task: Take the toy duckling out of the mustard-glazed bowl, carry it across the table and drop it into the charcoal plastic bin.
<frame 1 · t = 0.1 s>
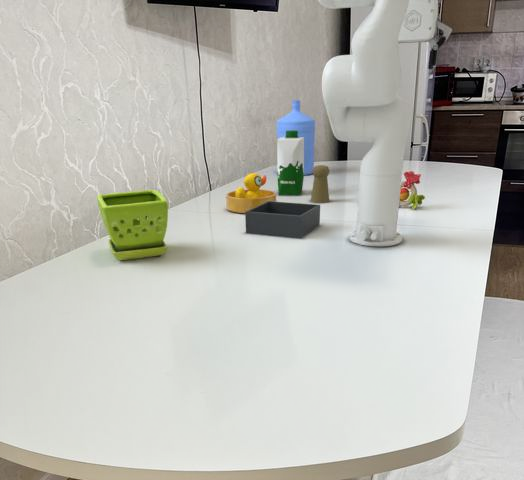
hand: (410, 69, 130), 37 cm above the table, tool pointing down, fingers open, 9 cm apart
bowl: (251, 208, 162), on the table
flower pot: (138, 253, 121), on the table
duckling: (251, 208, 161), resting on bowl
milk carton: (290, 194, 183), on the table
cork: (320, 201, 170), on the table
bin: (283, 229, 138), on the table
bird rattle: (406, 208, 159), on the table
water jug: (295, 173, 223), on the table
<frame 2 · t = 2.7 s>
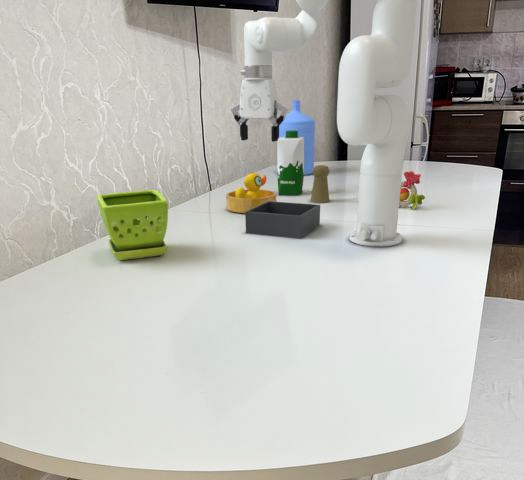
hand: (259, 140, 152), 20 cm above the table, tool pointing down, fingers open, 9 cm apart
nothing on the table moved.
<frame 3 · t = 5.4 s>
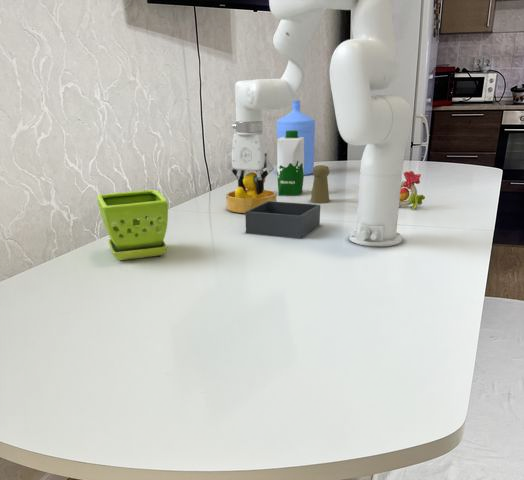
hand: (251, 192, 159), 5 cm above the table, tool pointing down, fingers closed on duckling, 5 cm apart
duckling: (251, 207, 161), resting on bowl, touching gripper
everything else where it was.
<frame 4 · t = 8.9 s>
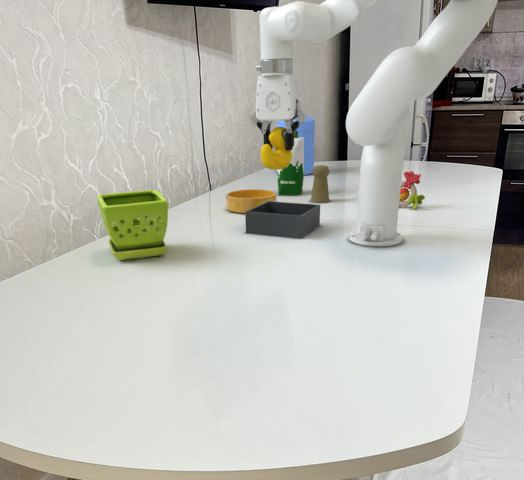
hand: (278, 149, 133), 19 cm above the table, tool pointing down, fingers closed on duckling, 5 cm apart
duckling: (279, 170, 135), point 14 cm above the table, touching gripper
everything else where it was.
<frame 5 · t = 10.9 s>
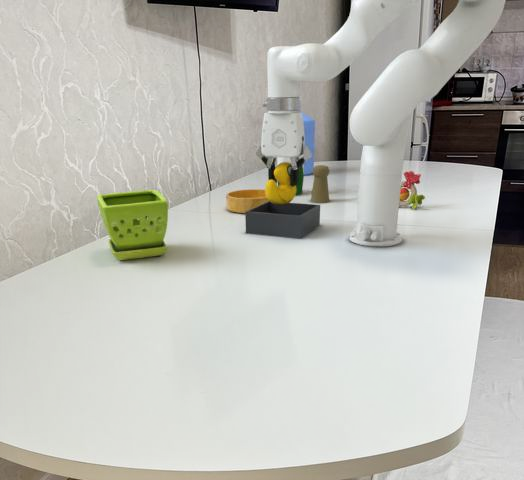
hand: (283, 184, 133), 12 cm above the table, tool pointing down, fingers closed on duckling, 5 cm apart
duckling: (283, 204, 135), point 6 cm above the table, touching gripper
everything else where it was.
when the fingers open (8 cm above the table, at t = 12.4 s): duckling drops 3 cm, resting on bin.
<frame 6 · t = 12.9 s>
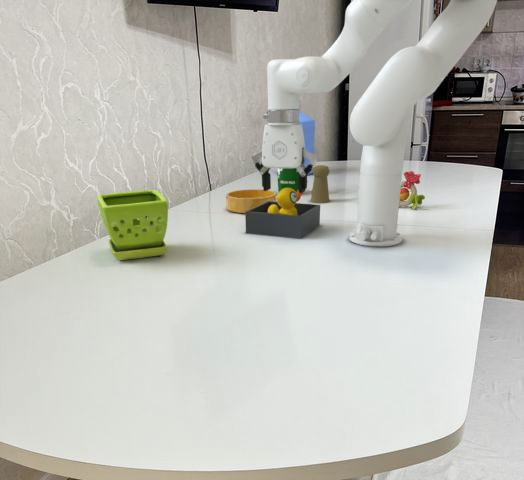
hand: (284, 191, 134), 10 cm above the table, tool pointing down, fingers open, 9 cm apart
duckling: (284, 228, 138), resting on bin
everything else where it was.
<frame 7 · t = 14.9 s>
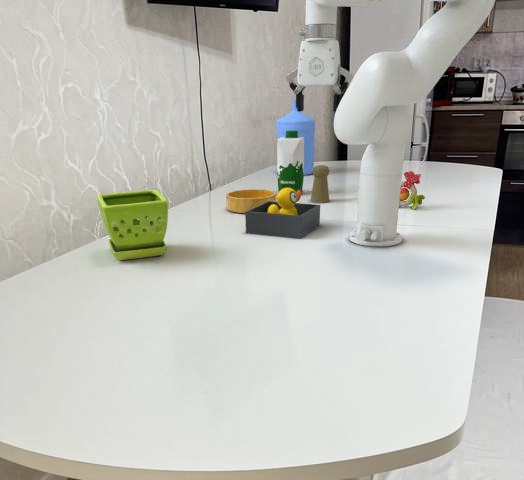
hand: (318, 111, 136), 28 cm above the table, tool pointing down, fingers open, 9 cm apart
nothing on the table moved.
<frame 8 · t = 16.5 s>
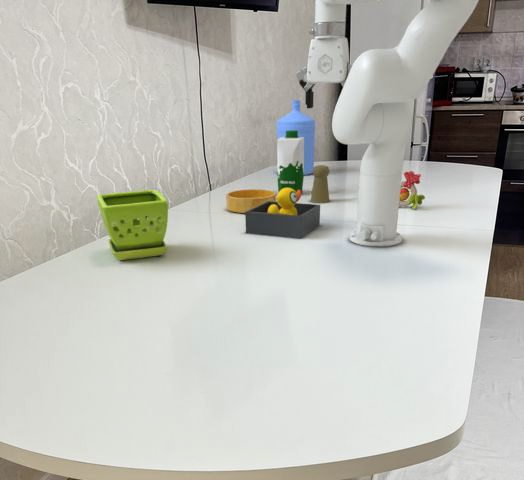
hand: (327, 108, 138), 28 cm above the table, tool pointing down, fingers open, 9 cm apart
nothing on the table moved.
at the end: duckling inside the target area in the bin (0.3 cm from its centre), point 0.3 cm above the bin's base; the gripper is holding nothing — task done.
